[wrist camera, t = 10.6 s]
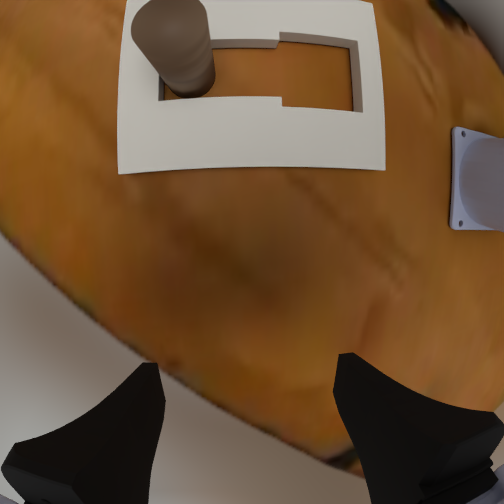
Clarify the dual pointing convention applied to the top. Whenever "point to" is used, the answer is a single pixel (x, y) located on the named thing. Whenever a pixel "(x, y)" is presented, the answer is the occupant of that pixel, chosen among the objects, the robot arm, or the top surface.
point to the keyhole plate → (255, 107)
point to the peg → (177, 44)
